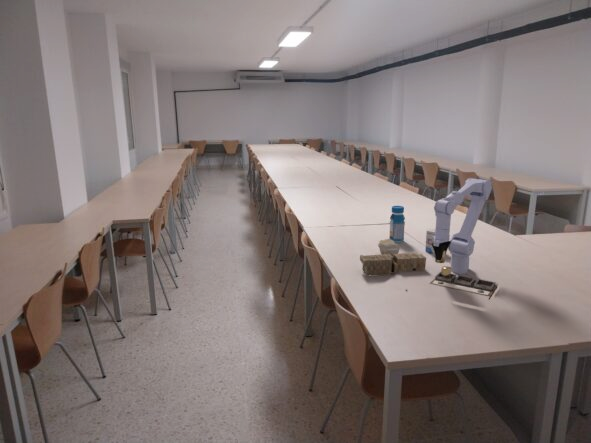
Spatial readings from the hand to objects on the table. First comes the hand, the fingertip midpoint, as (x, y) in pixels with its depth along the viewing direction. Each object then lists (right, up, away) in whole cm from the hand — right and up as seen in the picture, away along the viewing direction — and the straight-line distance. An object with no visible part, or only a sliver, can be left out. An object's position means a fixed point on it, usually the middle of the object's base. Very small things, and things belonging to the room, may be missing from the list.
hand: (440, 258), depth 183 cm
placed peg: (+3, -9, +2) cm, 10 cm away
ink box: (+11, 0, +41) cm, 42 cm away
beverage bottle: (-4, +5, +62) cm, 62 cm away
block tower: (-18, -8, +15) cm, 24 cm away
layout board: (+8, -12, -4) cm, 15 cm away
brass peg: (0, -1, 0) cm, 2 cm away
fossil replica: (-14, -2, +38) cm, 40 cm away
